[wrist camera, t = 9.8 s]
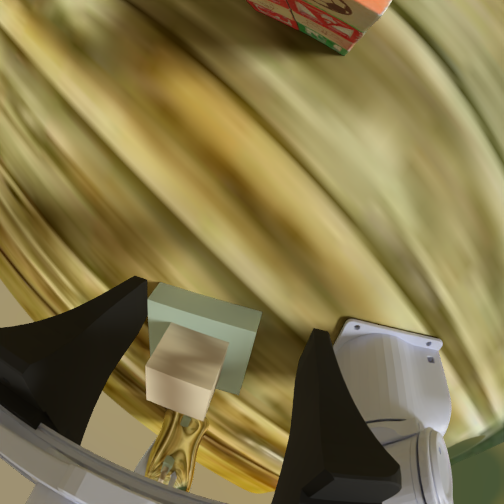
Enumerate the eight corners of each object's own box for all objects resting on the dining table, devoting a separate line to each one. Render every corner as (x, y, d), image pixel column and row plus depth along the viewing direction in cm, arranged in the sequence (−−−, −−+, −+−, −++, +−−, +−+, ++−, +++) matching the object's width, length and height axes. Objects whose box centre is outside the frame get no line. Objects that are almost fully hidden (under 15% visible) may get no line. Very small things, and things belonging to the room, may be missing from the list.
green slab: (263, 308, 26) (256, 332, 24) (245, 372, 31) (238, 395, 28) (162, 278, 27) (147, 299, 25) (162, 346, 32) (151, 366, 29)
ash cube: (229, 342, 25) (211, 390, 21) (219, 377, 28) (203, 421, 23) (171, 322, 25) (145, 365, 21) (168, 358, 28) (146, 399, 24)
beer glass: (157, 414, 39) (116, 502, 26) (171, 396, 36) (124, 499, 23) (201, 436, 40) (168, 525, 27) (221, 421, 36) (186, 524, 23)
